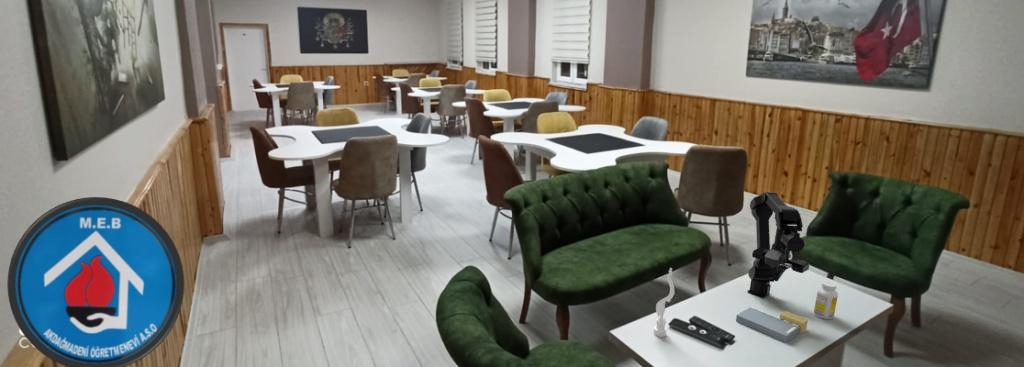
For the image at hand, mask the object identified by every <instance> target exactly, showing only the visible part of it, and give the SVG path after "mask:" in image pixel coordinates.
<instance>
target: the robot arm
mask: <svg viewBox="0 0 1024 367" xmlns="http://www.w3.org/2000/svg"><path fill="white" fill-rule="evenodd" d="M749 208H750V210H751V215H752V217H753V218H754V219H755V222H756V224H755V227H756V230H755V231H756V248H755V249H754V250H752V255H751V258H754V261H753V263H752V266H751V268H750V269H749V270H748V274H747V275H748V278H749V279H750V284H749V289H748V290H747V294H751V295H754V296H756V297H758V298H765V297H767V296H769V295H770V294H771V292H770V291H771V288H772V284H771V282H772V283H775V282H778V281H779V280H780V279H781V277H782V276H783V275H784V273H785V272H786V271H787V270H788V269H791V270H792V271H794V272H796V273H800V274H803V273H805V272H808V271H809V269H810V264H809V262H808V261H805V260H801V259H799V258H798V259H796V260H791V259H790V258H792V257H791V253H798V252H800V251H802V250H803V249H804V247H805V241H804V239H803V238H802V237H801V233H800V232H802V231H803V227H804V226H803V222H802V221H803V220H802V217H801V214H800V212H799V210H798V209H797V208H795V207H793V206H788V205H787V204H786V203H785V202H784V201H783V200H782V199H781V198H780V197H779V195H778V193H776V192H769V191H764V192H763V193H761V194H760V195H757V196H753V198H752V199H751V201H750V203H749ZM773 214H774V220H775V226H776V229H775V230H776V232H775V236H774V243H772V245H771V240H770V238H771V237H770V218H772V216H773Z"/></svg>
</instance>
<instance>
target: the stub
mask: <svg viewBox="0 0 1024 367" xmlns="http://www.w3.org/2000/svg"><path fill="white" fill-rule="evenodd" d="M779 318H780V319H781V320H785V321H788V322H789V323H791V324H795V325H798V326H799V327H800V328H799V333H798V334H803V333H804V332H805V331H806V330H807V326H808V321H809V319H808V318H805V317H802V316H800V315H797V314H795V313H793V312H792V313H791V312H789V311H786V310H784V311H783V312H781V313H780V314H779Z"/></svg>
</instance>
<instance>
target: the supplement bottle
mask: <svg viewBox="0 0 1024 367" xmlns="http://www.w3.org/2000/svg"><path fill="white" fill-rule="evenodd" d="M838 297H839V293H838V291H837V284H836V283H835V282H832V281H829V280H828V281H827V280H826V281H822V282H821V287H819V288H818V289H817V293H816V297H815V304H814V308H813V314H814V315H815V316H816V317H818V318H821V319H825V320H832V319H833V318H834V317H835V313H836V307H837V302H838Z"/></svg>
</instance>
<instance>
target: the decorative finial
mask: <svg viewBox="0 0 1024 367" xmlns="http://www.w3.org/2000/svg"><path fill="white" fill-rule="evenodd" d="M672 275H673V268H672V267H670V268H669V270H668V275H667V276H666V279H667V282H668V286H669V293H668V295H667V296H666V297H664V298H661V299H660V300H658V301H657V303H656V304H655V311H656V315H657V318H655V323H656V325H655V326H654V327H653V335H655V336H657V337H659V338H660V337H661V338H663V337H666V336H667V328H666V327H665V326H666V324H667V320H666V318H664V314H665V313H666V312H665V310H666V302H667V303H670V302H672V298H673V297H674V295H675V286H674V283H673V280H672V278H671V277H672Z"/></svg>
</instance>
